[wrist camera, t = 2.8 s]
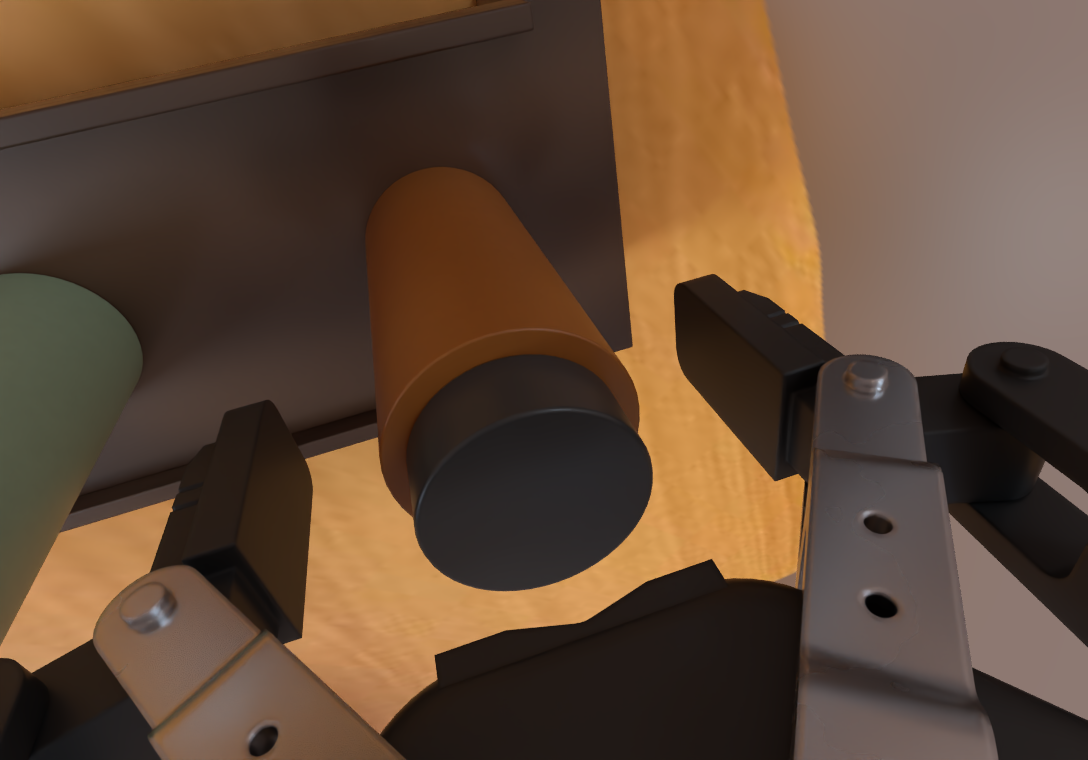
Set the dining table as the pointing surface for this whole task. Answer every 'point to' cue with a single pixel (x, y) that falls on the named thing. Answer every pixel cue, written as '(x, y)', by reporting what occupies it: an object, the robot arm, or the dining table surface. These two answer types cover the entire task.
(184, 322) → the spice rack
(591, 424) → the amber bottle
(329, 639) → the dining table surface
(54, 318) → the sage bottle
